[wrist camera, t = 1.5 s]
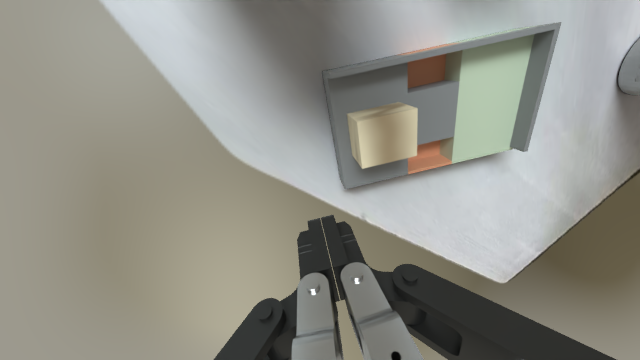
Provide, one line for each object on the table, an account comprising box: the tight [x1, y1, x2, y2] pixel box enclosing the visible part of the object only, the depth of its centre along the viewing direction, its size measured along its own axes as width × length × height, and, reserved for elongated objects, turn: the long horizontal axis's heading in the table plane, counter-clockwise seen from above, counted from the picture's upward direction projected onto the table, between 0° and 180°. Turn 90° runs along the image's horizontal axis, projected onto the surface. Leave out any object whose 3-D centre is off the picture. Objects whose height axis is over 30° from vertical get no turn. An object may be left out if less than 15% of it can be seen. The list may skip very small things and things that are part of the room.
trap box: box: [322, 22, 561, 189], centre depth 27 cm, size 23×14×5 cm, turn 101°
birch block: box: [347, 102, 418, 169], centre depth 25 cm, size 6×5×4 cm
